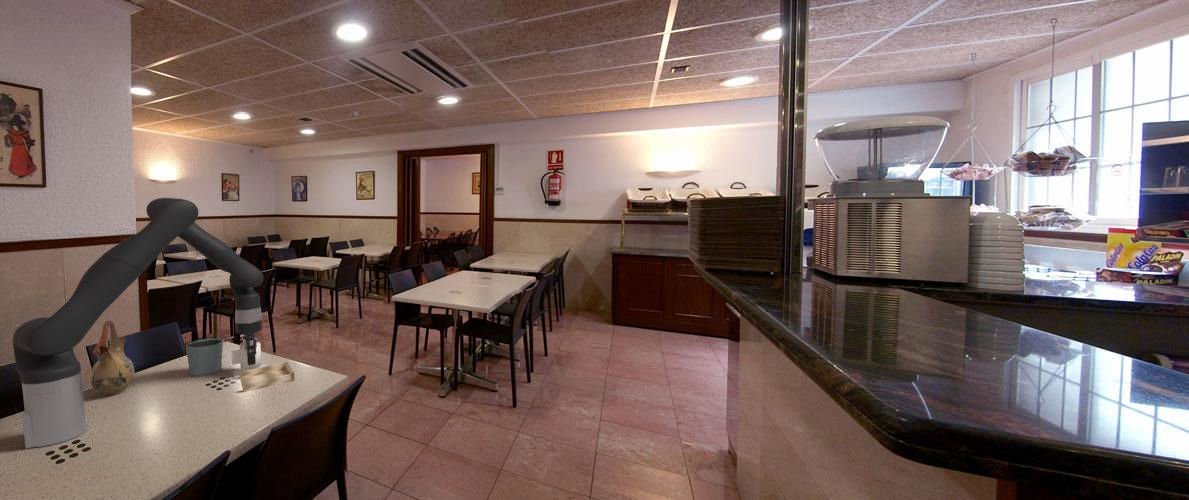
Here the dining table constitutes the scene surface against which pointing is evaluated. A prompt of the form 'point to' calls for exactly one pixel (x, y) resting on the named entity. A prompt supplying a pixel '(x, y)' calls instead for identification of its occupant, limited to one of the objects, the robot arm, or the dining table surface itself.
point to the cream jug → (241, 357)
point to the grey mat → (237, 372)
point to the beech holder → (266, 376)
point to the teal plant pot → (204, 356)
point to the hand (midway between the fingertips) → (250, 361)
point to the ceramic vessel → (111, 364)
